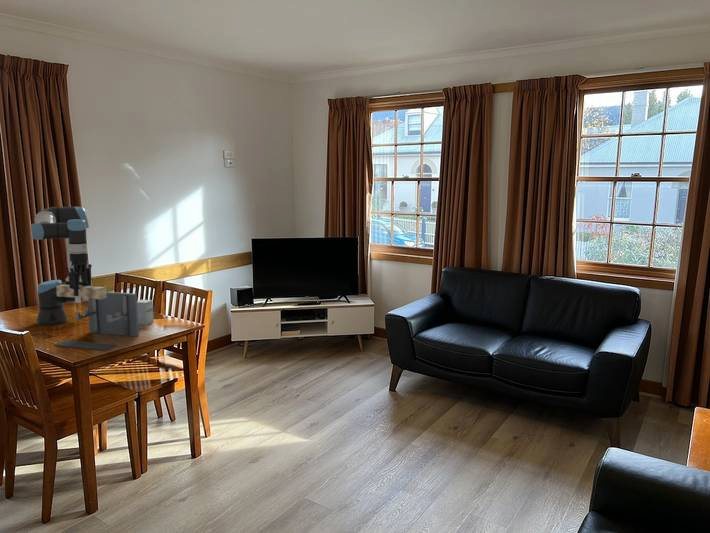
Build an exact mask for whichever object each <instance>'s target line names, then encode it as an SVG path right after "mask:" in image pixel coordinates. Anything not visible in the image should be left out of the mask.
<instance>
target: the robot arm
mask: <svg viewBox="0 0 710 533" xmlns="http://www.w3.org/2000/svg"><path fill="white" fill-rule="evenodd" d="M89 228H90V226H89V220H88V216H87V212H86V209H85V208H84V207H82V206H52V207H47V208H44V209H42V210H40V211H38V212H37V213H36V214H35V216H34V223H32V224H31V225H30V229H31V230H30V231H31V238H32V239H33V240H55V239H56V240H59V239H60V240H61V239H62V240H63V239H65V243H66V257H67V258H66V261H67V268H66V271H67V274H68V276H67V277H66V278H65V282H64V281H63V282H62V280H61V279H53V280H48V281H43V282H40V283H39V284H37V291H36V293H37V299H38V300H37V302H38V313H37V318H36V325H37V324H38V325H37V326H40V325H43V326H42V327H47V326H46V325H52V326H57V325H62V324H66V323H68V321H69V320H68V315H66V310H65V309H64V304H68V303H69V304H70V303H76V304H81V303H82V302H88V298H81V290H80V289H79V286H93V282H92V264H90V263H88V261H89V253H88V243H87V242H88V241H87V229H89ZM62 284H63V285H70V288H71V289H74V296H75V298H74V297H60V296H57V291H56V286H58V285H62ZM65 322H66V323H65Z"/></svg>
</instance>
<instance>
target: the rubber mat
mask: <svg viewBox="0 0 710 533" xmlns="http://www.w3.org/2000/svg"><path fill="white" fill-rule="evenodd" d="M53 346H54V347H61V348H73V349H83V350H94V351H103V352H105V351H108V350H110V349H112V348H115V347H116V346H117V344H113V343H103V342H93V341H84V340H83V341H80V340H72V339H71V340H70V339H65V340H63V341H62V340H61V341H60V342H57V343H55V344H53Z"/></svg>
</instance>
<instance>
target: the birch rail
mask: <svg viewBox="0 0 710 533" xmlns="http://www.w3.org/2000/svg"><path fill="white" fill-rule="evenodd" d="M79 289H80V290H81V298H89V299H103V298H107V295H106V292H107V287H106V286H93V285H92V286H79ZM56 291H57V296H60V297H74V298H75V296H74V289H71V288H70V285H63V284H62V285H58V286H56Z"/></svg>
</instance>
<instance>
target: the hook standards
mask: <svg viewBox="0 0 710 533" xmlns="http://www.w3.org/2000/svg"><path fill="white" fill-rule="evenodd" d="M92 305H93V311H92V312H89V310H88V309H84V310H83V313H82V314H81V312H74V318H75V320H82V319H85V318H89V316H91V315H93V320H94V333H93V334H96V335H99V334H101V333H100V329H99V314H98V299H92ZM123 313H124V314H121V315H120V312H115V317H113V318H112V315H107V322H113V321H115V320H118V319H121V318H123V317H124V331H125V335H124V337H126V338H127V337H131V336H130V324H129V307H128V296H123Z"/></svg>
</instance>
